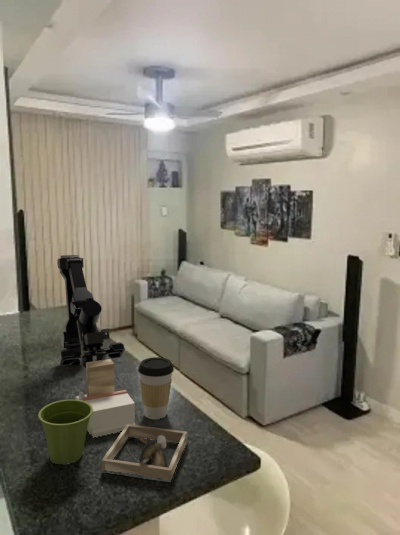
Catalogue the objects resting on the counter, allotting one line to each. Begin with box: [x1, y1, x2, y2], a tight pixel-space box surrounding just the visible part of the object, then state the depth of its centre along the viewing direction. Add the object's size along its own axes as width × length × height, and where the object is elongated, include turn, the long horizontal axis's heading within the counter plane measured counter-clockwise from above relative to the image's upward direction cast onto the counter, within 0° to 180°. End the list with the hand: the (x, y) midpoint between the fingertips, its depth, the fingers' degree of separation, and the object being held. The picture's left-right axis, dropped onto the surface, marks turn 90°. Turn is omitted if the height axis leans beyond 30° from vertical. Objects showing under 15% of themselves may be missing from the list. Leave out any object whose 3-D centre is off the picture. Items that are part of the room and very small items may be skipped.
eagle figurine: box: [137, 435, 168, 468], centre depth 95 cm, size 8×7×9 cm
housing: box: [75, 389, 136, 439], centre depth 117 cm, size 22×12×6 cm, turn 27°
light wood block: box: [85, 358, 115, 397], centre depth 120 cm, size 5×7×12 cm, turn 117°
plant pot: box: [37, 399, 93, 465], centre depth 96 cm, size 12×12×11 cm
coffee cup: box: [137, 356, 175, 420], centre depth 117 cm, size 10×10×15 cm
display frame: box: [101, 424, 188, 480], centre depth 98 cm, size 16×16×3 cm
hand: (97, 380), depth 123 cm, fingers closed
